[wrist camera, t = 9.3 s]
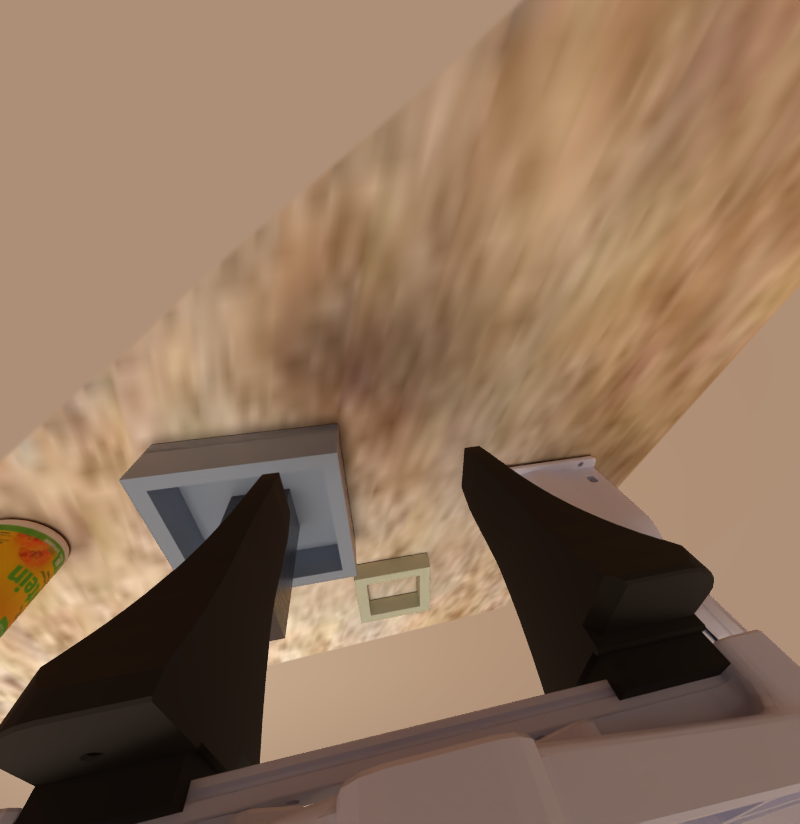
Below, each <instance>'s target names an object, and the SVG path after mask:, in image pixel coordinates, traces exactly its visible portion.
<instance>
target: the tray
mask: <svg viewBox="0 0 800 824" xmlns="http://www.w3.org/2000/svg"><path fill="white" fill-rule="evenodd" d="M277 472H279V474H280V477H281V481H282V484H283V488H284V489H289V488H290V491H291V495H292V499H293V502H294V506H295V510H296V513H297V517H298V521H299V525H300V531H299V539H298V546H297V553H296V561H295V568H294V575H293V583H292V587H297V586H302V585H308V584H314V583H319V582H325V581H331V580H336V579H342V578H348V577H353V576H357V566H356V547H355V535H354V529H353V522H352V516H351V509H350V503H349V496H348V490H347V483H346V477H345V470H344V464H343V457H342V451H341V444H340V438H339V431H338V425H337V424H328V425H320V426H311V427H302V428H293V429H285V430H276V431H267V432H258V433H250V434H241V435H232V436H223V437H215V438H206V439H197V440H188V441H180V442H171V443H162V444H153V445H151V446H150V447H149V448H148V449H147V450H146V451H145V452H144V453H143V454H142V456H141V457H140V458H139V459H138V460H137V461H136V462H135V463H134V464H133V465H132V466H131V468H130V469H129V470H128V471H127V472H126V473H125V474H124V475H123V476H122V477H121V478H120V480H119V481H120V483H121V484H122V486H123V488H124V489H125V491H126V493H127V494H128V496H129V497H130V499H131V501H132V502H133V504H134V506H135V507H136V509H137V511H138V512H139V514H140V516H141V517H142V519H143V520H144V522H145V524H146V525H147V527H148V529H149V530H150V532H151V534H152V535H153V537H154V539H155V540H156V542H157V544H158V545H159V547H160V548H161V550H162V552H163V553H164V555H165V557H166V558H167V560H168V562H169V563H170V565H171V567H172V568H173V570H175V569H176V568H177V567H178V566H179V565H180V564H181V563H182V562H184V561H185V560H186V559H187V558H188V557H189V556H190V555H191V554H192V553H193V552H194V551H195V550H196V549H197V548H198V547H199V546H200V545H201V544H202V543H203V542H204V541H205V540H206V539H207V538H208V537H209V536H210V535H211V534H212V533H213V532H214V531H215V530H216V529H217V528H218V526H219V525H220V523H221V521H222V518H223V516H224V513H225V511H226V509H227V506H228V504H229V501H230V499H231V497H232V496H238V495H246V494H247V492H248V491H249V490H250V489H251V487H252V486H253V485H254V484H255V482H256V481H257V480H258V479H259V478H260V476H261V475H262V474H270V473H277Z"/></svg>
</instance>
